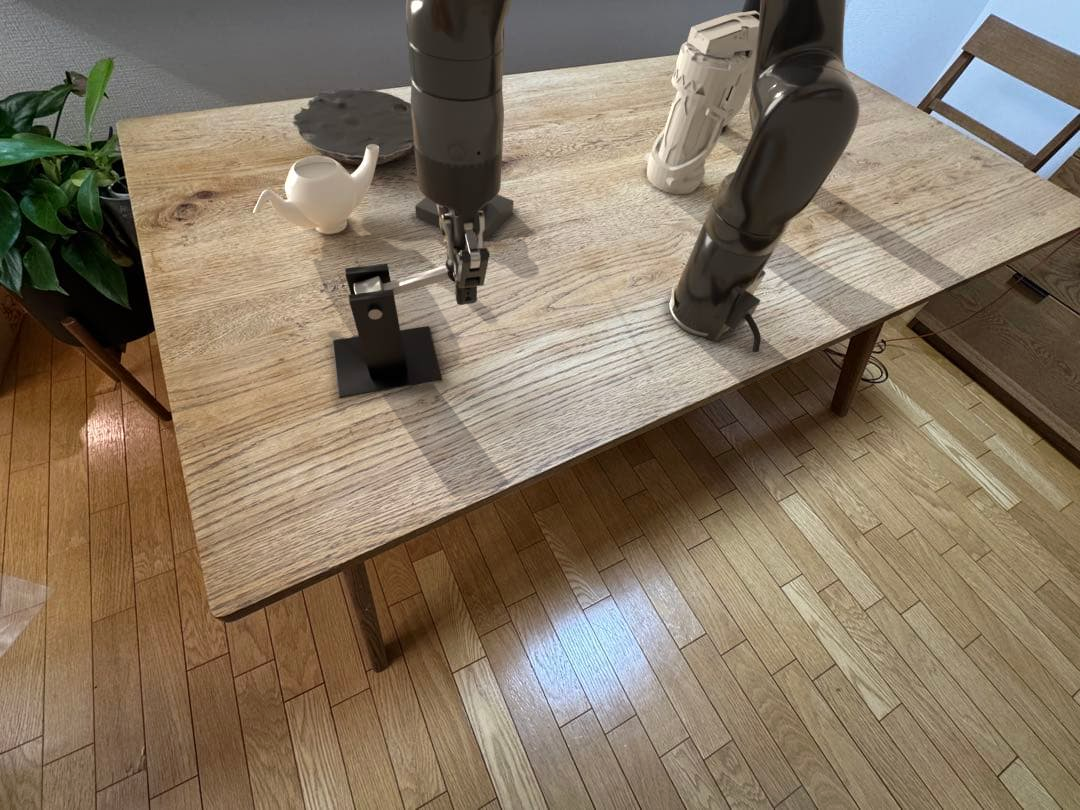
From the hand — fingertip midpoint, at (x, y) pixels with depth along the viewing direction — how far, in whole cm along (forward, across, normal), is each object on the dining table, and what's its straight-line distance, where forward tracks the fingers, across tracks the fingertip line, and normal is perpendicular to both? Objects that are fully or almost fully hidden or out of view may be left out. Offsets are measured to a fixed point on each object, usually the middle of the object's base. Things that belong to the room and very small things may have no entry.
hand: (462, 287), depth 58 cm
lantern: (+11, +33, -48) cm, 59 cm away
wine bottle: (+11, +50, -64) cm, 82 cm away
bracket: (+11, 0, +10) cm, 15 cm away
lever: (0, 0, +4) cm, 4 cm away
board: (+11, +50, +7) cm, 51 cm away
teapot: (+11, +29, +14) cm, 34 cm away
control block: (+11, +28, -6) cm, 31 cm away
